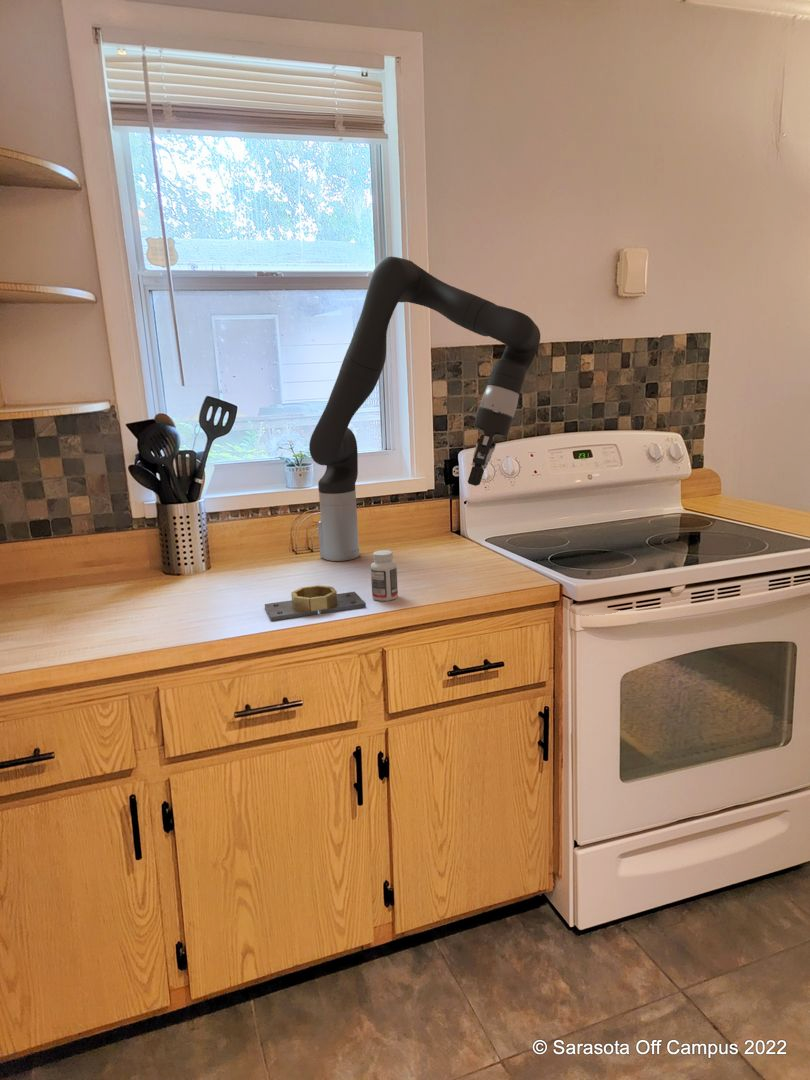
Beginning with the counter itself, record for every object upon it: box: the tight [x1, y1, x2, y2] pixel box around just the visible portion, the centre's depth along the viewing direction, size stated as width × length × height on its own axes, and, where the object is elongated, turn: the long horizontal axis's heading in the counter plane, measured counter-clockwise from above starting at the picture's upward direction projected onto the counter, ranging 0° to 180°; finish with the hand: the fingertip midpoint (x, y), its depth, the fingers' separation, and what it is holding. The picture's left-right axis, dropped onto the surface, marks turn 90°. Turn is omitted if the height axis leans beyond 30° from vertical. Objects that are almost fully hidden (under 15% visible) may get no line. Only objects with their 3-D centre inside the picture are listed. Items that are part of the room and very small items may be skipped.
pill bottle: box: [370, 549, 399, 602], centre depth 150 cm, size 5×5×10 cm
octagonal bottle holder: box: [264, 584, 367, 622], centre depth 146 cm, size 19×9×3 cm, turn 109°
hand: (473, 484), depth 155 cm, fingers open, 8 cm apart
